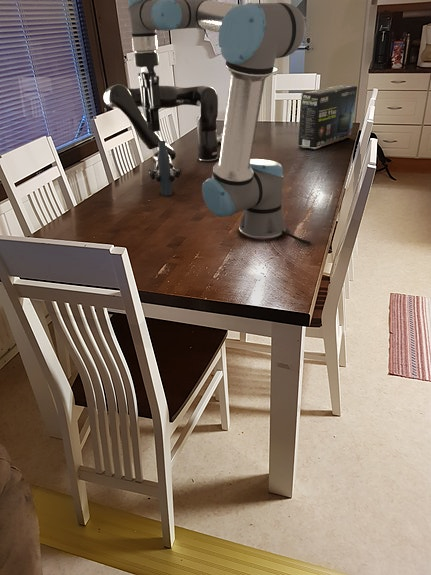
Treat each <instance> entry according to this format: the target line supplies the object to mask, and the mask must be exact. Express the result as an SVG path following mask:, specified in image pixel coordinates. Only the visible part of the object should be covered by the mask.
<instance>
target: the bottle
mask: <svg viewBox="0 0 431 575" xmlns="http://www.w3.org/2000/svg"><path fill="white" fill-rule="evenodd" d="M166 144H167V141H166V140H163V141H158V145H159V147H158V149H157V151H159V152H158V157H157V158H158V159H157V160H158V170H159V180H160V182H159V188H160V195H161V196H164V197H166V196H172V195H173V194H174V193H173V183H172V182H173V181H172V180H171V168H170V158H169V154H168V151H167V149H166Z"/></svg>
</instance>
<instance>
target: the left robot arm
mask: <svg viewBox="0 0 431 575" xmlns="http://www.w3.org/2000/svg"><path fill="white" fill-rule="evenodd" d="M159 92H160V105H161V109H172V108H177V107H179V106H195V107H199V110H200V111H199V115H198V116H197V117H196V130H197V148H198V149H197V150H198V161H200V162H206V163H208V162H210V163H211V162H215V161H218V159H219V155H218V145H219V144H222V143H221V142H218V143H217V135H218V129H217V126H218V125H217V119H218V115H219V96H218V93H217V90H216V89H214V88H213V87H211V86H208V85H207V86H206V85H198V86H189V87H182V86H175V85H159ZM103 101H104V103H105V104H106V106H108V107H109V108H111V109H113V110H120V111H121V112H122V113H123V114H124V115H125V116H126V117H127V119H128V120H129V122H130V123H131V126H132V127H133V130H134V132H135V133H136V135H137V137H138V138H139V139H140V140H141V142H142V143H143V144H144V146H145V147H146V148H147V149H148V150H155V149H156V148H159V145H158V141H164V140H163V139H161V137H160V136H159V135H158V134H157V131H155V132H152V131H149V130H147V122H146V117H145V116H144V114H143V113H142V111H141V110H140V108H144V105H142V98H141V90H140V87H135V88H131V87H130V88H129V87H127V86H125V85H124V84H120V83H117V84H114V85H111V86H109V87H108V88H107V89H106V90H105V91H104V93H103ZM166 149H167V151H168V154H169V158H170V168H171V180H172V182H174V181H175V180H176V179H179V178H180V177H181V176H182V175H183V174H182V173H183V172H182V167H178V168H175V166H174V162H173V161H174V160H175V159H176V157H177V154H176V151H175V149H174V148H173V147H171V146H170V145H169V144H168V143H166ZM158 152H159V151H158V150H157V151H156V152H155V153H153V155H152V162H153V163H154V164H155V169H154V170H153V169H148V170H147V172H148V177H149V178H150V179H151V180H152V181H155V182H157V183H160V180H159V170H158V160H157V159H158V158H157V157H158Z"/></svg>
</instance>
